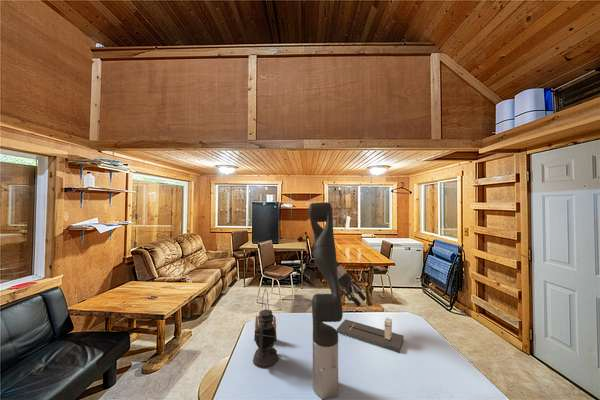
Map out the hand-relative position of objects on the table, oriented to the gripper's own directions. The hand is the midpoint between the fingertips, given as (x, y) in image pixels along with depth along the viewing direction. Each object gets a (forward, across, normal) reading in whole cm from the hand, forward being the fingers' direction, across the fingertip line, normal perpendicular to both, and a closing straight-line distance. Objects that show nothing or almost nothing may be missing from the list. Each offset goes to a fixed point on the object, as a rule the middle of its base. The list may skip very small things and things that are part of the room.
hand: (362, 302), depth 117 cm
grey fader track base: (+14, 0, +9) cm, 16 cm away
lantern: (-9, -41, +32) cm, 53 cm away
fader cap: (+18, 0, +1) cm, 18 cm away
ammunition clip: (-16, -30, +39) cm, 51 cm away
